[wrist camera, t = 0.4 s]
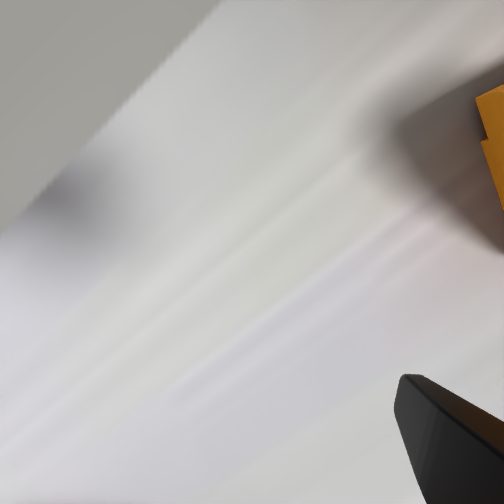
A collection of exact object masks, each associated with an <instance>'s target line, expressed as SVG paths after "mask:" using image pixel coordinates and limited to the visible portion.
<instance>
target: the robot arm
mask: <svg viewBox="0 0 504 504" xmlns="http://www.w3.org/2000/svg"><path fill="white" fill-rule="evenodd" d="M394 414H395V418H396V421H397V424H398V427H399V429H400V432H401V435H402V438H403V441H404V444H405V447H406V450H407V453H408V456H409V459H410V462H411V465H412V468H413V471H414V474H415V477H416V479H417V482H418V485H419V487H420V489H421V492H422V494H423V497H424V499H425V501H426V503H427V504H504V422H503V421H501V420H500V419H498V418H496V417H494V416H493V415H491V414H489V413H487V412H486V411H484V410H482V409H480V408H479V407H477V406H475V405H473V404H472V403H470V402H468V401H466V400H465V399H463V398H461V397H459V396H458V395H456V394H454V393H452V392H451V391H449V390H447V389H445V388H444V387H442V386H440V385H438V384H437V383H435V382H433V381H431V380H430V379H428V378H426V377H424V376H423V375H419V374H404V375H402V376H401V378H400V380H399V384H398V389H397V394H396V398H395V403H394Z"/></svg>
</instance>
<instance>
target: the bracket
mask: <svg viewBox="0 0 504 504" xmlns="http://www.w3.org/2000/svg"><path fill="white" fill-rule="evenodd" d="M475 100H476V103H477V106H478V109H479V112H480V115H481V118H482V121H483V124H484V128H485V131H486V134H487V137H488V138H487V139H485V140H483V141H481V145H482V148H483V151H484V154H485V157H486V160H487V163H488V166H489V169H490V172H491V175H492V178H493V181H494V184H495V187H496V190H497V193H498V196H499V199H500V202H501V205H502V208H503V211H504V84H502V85H500V86H498V87H496V88H494V89H492V90H490V91H488V92H486V93H484V94H482V95H480V96H478V97H476V98H475Z"/></svg>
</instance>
